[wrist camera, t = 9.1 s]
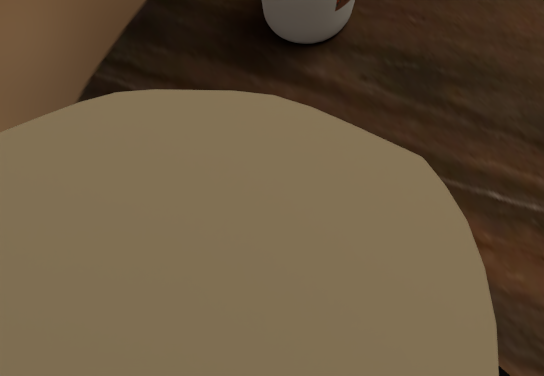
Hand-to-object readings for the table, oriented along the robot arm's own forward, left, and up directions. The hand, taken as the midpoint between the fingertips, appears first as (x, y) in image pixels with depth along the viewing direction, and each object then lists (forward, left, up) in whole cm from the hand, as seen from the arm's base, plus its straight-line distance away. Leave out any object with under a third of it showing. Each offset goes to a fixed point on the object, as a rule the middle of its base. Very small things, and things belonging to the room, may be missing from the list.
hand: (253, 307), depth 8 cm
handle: (+1, +1, -9) cm, 9 cm away
